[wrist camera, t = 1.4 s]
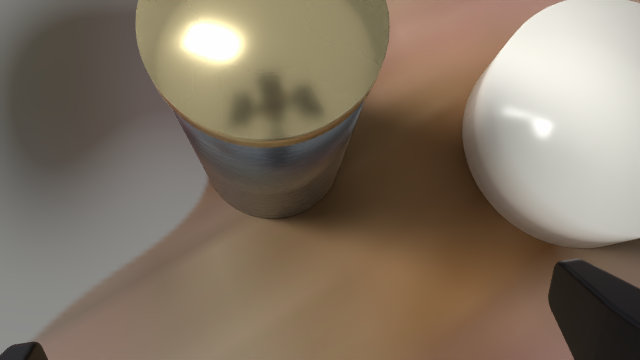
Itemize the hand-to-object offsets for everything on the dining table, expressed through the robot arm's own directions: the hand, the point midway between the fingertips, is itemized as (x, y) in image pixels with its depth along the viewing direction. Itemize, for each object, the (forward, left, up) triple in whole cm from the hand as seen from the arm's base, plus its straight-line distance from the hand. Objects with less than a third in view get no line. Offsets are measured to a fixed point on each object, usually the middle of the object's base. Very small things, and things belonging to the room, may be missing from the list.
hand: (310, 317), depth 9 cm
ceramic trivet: (+3, -15, -13) cm, 20 cm away
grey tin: (+7, -2, -13) cm, 15 cm away
